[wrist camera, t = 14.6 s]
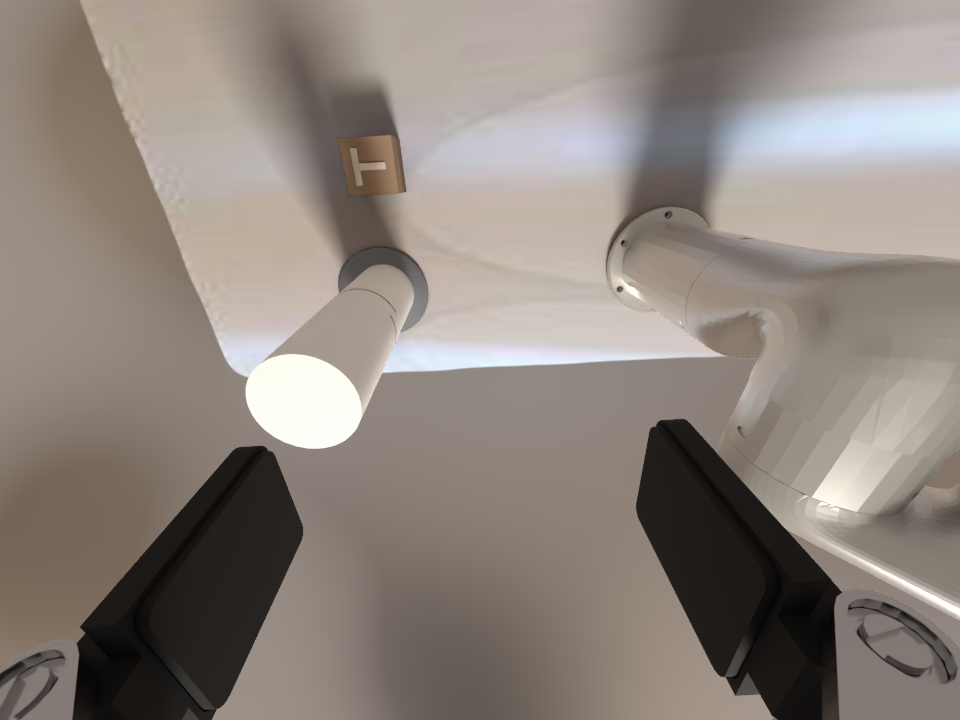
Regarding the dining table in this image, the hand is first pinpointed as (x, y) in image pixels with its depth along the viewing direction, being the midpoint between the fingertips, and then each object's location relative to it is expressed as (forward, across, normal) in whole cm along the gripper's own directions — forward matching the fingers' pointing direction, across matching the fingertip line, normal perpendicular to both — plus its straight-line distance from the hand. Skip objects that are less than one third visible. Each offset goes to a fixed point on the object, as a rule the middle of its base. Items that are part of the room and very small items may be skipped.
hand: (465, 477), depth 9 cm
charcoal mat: (+38, +11, +5) cm, 40 cm away
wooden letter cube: (+38, +9, -8) cm, 40 cm away
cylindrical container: (+38, +11, +5) cm, 40 cm away
